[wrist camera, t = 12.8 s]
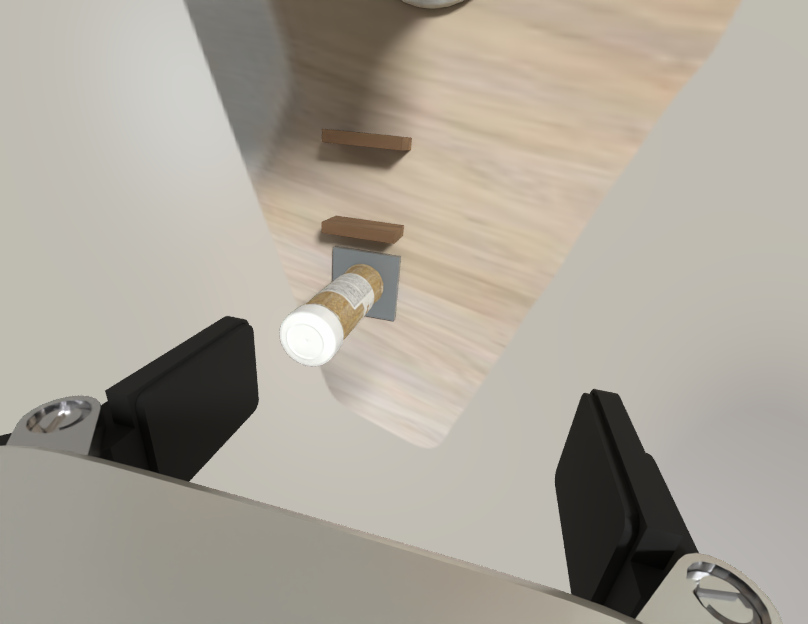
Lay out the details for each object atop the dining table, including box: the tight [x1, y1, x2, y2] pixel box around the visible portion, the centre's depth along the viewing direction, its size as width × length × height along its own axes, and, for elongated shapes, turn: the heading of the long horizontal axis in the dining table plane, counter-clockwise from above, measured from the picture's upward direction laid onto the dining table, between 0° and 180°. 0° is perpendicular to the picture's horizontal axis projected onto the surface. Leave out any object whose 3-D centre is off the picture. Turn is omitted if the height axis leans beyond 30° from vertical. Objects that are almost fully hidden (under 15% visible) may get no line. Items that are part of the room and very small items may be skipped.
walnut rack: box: [322, 129, 412, 244], centre depth 36 cm, size 9×7×4 cm
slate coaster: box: [333, 246, 401, 321], centre depth 41 cm, size 7×7×1 cm
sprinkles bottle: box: [279, 264, 383, 366], centre depth 35 cm, size 5×5×14 cm
